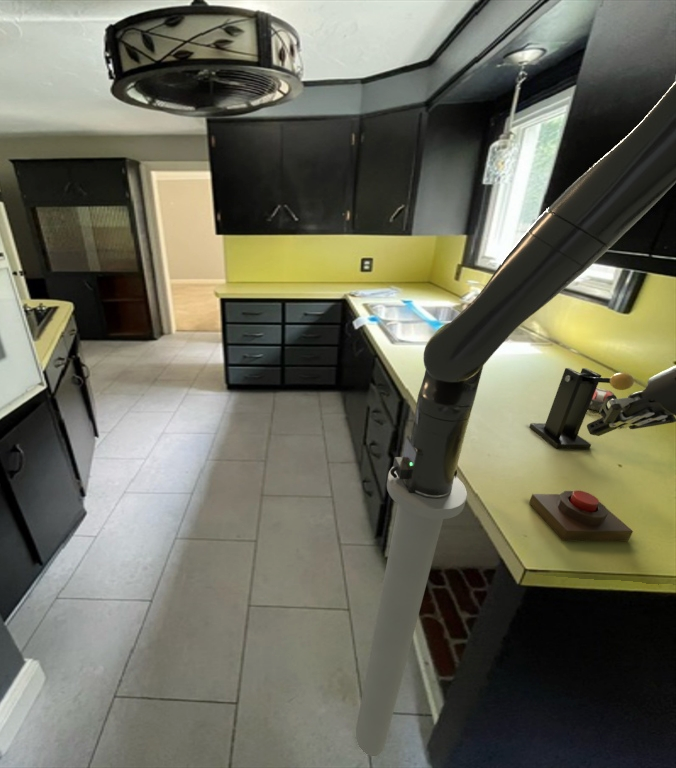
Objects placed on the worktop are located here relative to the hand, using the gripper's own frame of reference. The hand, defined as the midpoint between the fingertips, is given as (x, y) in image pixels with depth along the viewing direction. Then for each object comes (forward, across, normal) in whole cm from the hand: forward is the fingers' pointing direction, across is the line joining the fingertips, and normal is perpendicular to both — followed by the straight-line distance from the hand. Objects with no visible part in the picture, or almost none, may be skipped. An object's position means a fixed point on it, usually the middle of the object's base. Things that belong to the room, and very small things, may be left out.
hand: (591, 430), depth 68 cm
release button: (+4, +3, +13) cm, 14 cm away
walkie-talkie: (+23, -38, -25) cm, 51 cm away
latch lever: (+3, -12, -14) cm, 18 cm away
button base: (+7, +2, +15) cm, 17 cm away
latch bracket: (+19, -16, -10) cm, 26 cm away
